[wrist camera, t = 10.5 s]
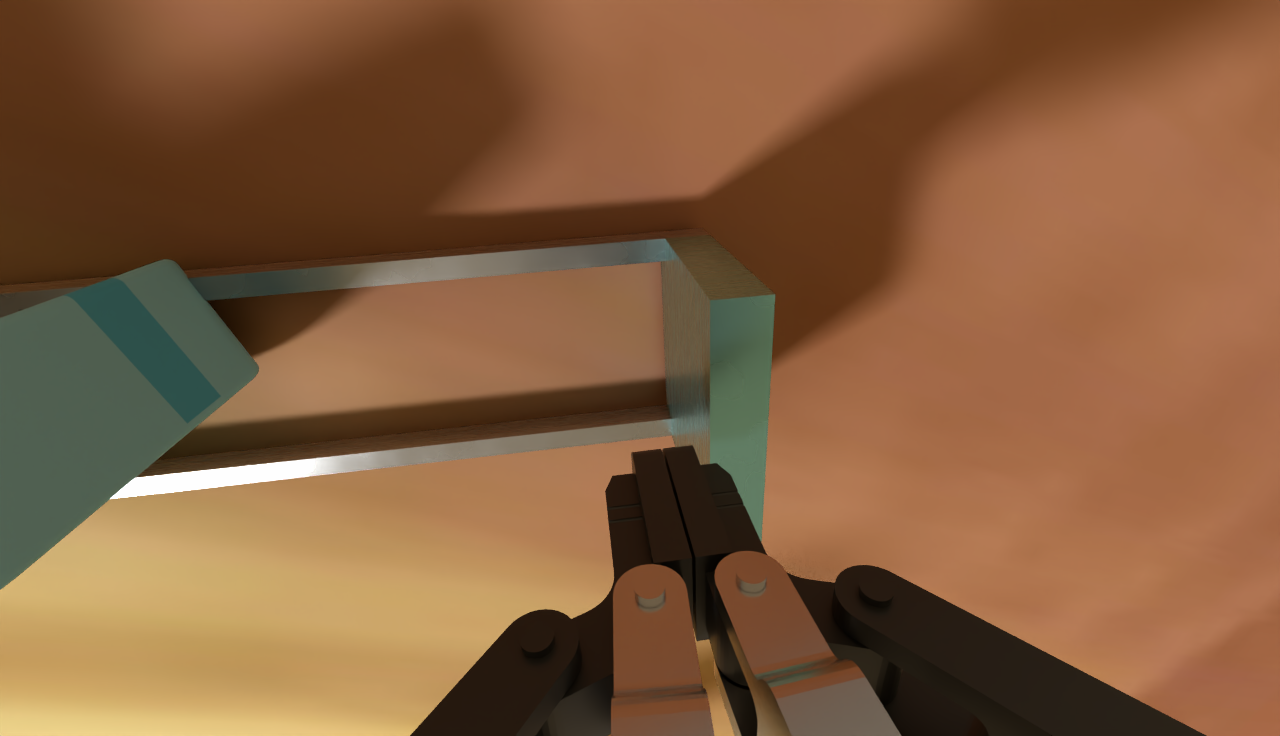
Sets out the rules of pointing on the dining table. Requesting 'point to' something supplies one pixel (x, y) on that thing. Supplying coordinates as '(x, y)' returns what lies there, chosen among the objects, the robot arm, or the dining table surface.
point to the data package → (102, 397)
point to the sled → (694, 415)
